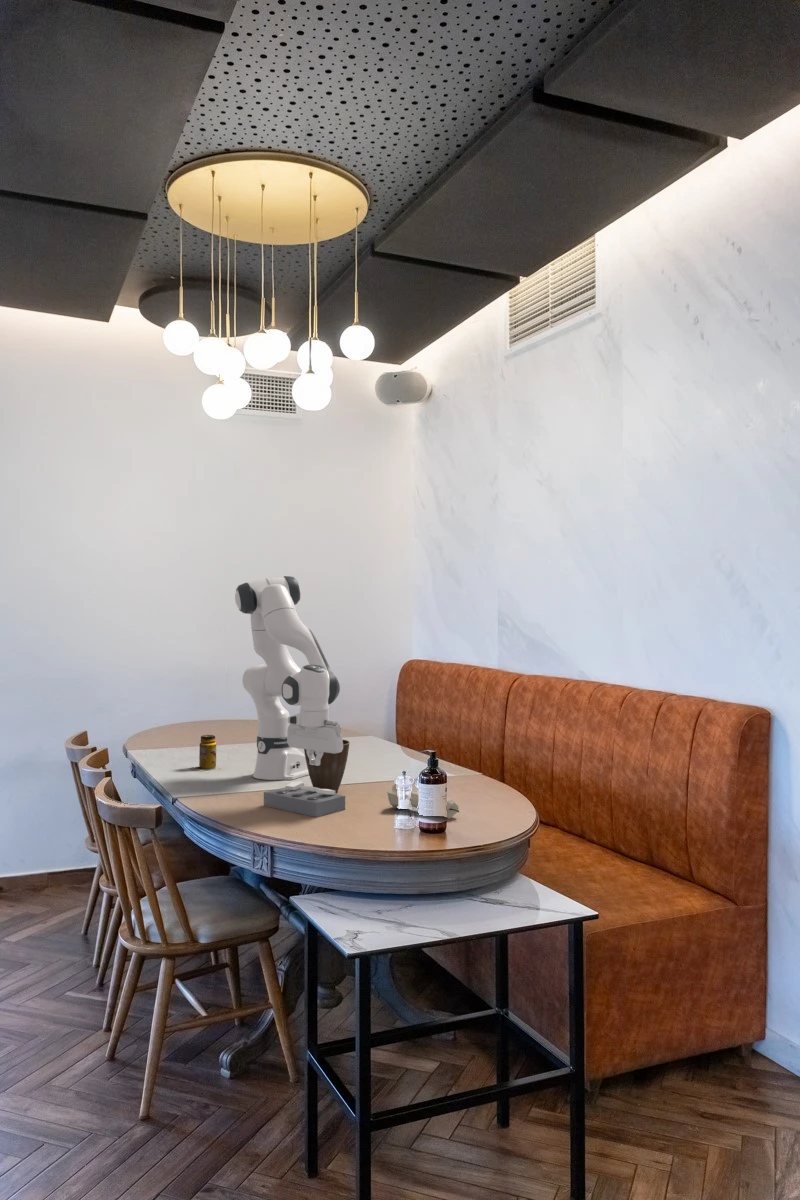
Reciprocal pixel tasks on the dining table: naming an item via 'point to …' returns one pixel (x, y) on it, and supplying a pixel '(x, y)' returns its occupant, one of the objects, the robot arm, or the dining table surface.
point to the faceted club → (393, 799)
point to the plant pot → (328, 769)
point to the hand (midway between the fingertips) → (314, 764)
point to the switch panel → (304, 801)
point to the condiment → (207, 753)
